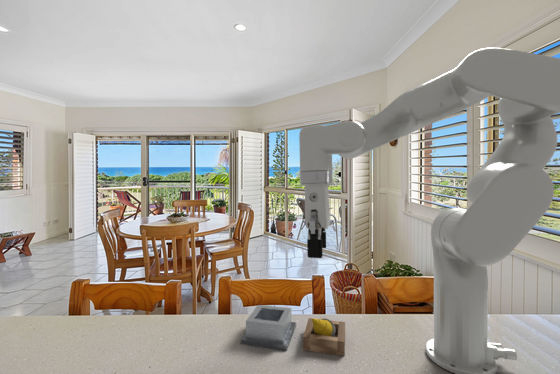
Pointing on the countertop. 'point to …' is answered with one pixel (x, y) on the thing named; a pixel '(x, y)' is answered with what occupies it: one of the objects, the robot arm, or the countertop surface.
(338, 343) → the socket block
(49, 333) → the countertop surface
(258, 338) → the grey hollow square block
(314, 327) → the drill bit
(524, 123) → the robot arm
